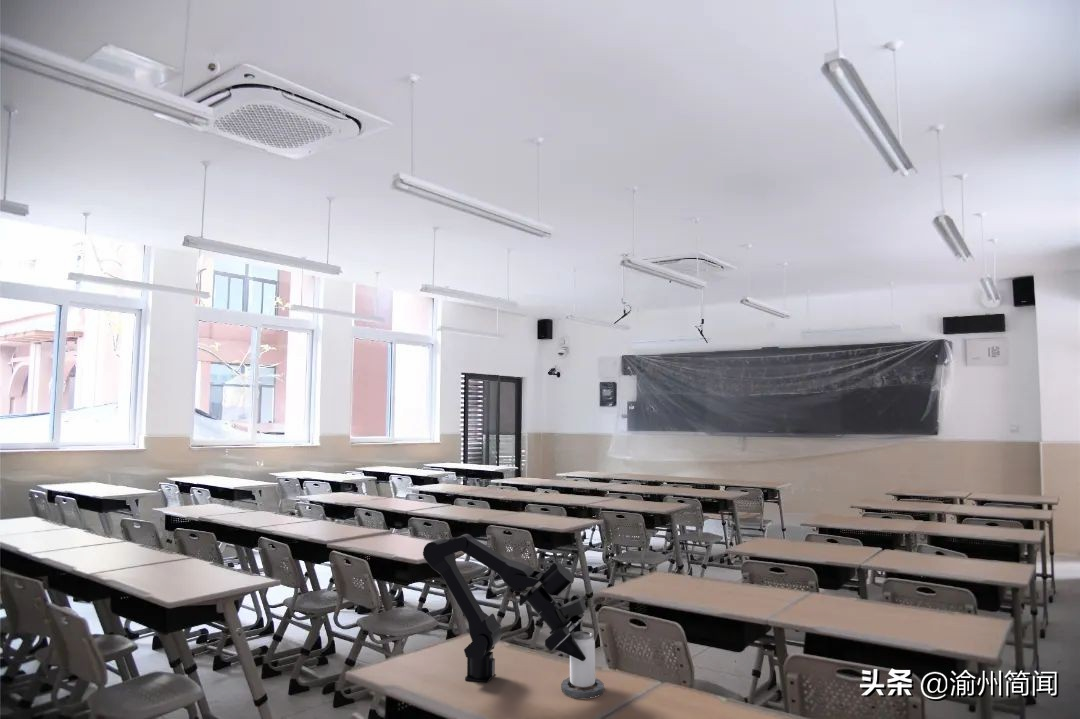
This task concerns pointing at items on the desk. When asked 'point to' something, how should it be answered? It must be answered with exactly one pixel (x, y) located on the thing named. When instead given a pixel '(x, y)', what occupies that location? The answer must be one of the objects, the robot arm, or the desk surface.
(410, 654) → the desk surface
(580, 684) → the can
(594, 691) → the collar
